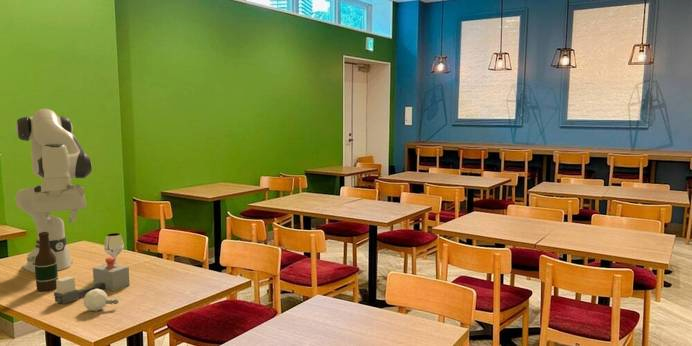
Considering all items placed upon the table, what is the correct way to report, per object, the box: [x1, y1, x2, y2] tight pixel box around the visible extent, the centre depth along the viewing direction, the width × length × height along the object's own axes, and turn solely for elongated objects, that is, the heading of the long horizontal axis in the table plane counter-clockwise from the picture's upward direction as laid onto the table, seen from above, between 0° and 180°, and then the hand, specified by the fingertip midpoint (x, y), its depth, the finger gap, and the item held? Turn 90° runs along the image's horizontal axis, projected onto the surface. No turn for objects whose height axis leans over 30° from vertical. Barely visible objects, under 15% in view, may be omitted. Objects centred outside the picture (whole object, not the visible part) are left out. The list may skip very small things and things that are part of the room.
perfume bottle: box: [83, 289, 119, 312], centre depth 186 cm, size 8×8×12 cm
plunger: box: [105, 256, 115, 269], centre depth 211 cm, size 4×4×9 cm
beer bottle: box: [34, 232, 59, 293], centre depth 206 cm, size 8×8×24 cm
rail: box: [56, 283, 106, 305], centre depth 199 cm, size 2×19×2 cm, turn 153°
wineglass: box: [103, 232, 125, 264], centre depth 227 cm, size 8×8×18 cm
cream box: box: [53, 275, 79, 305], centre depth 193 cm, size 6×6×9 cm
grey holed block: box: [92, 263, 131, 292], centre depth 211 cm, size 12×8×8 cm, turn 63°
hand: (61, 223), depth 187 cm, fingers open, 8 cm apart
